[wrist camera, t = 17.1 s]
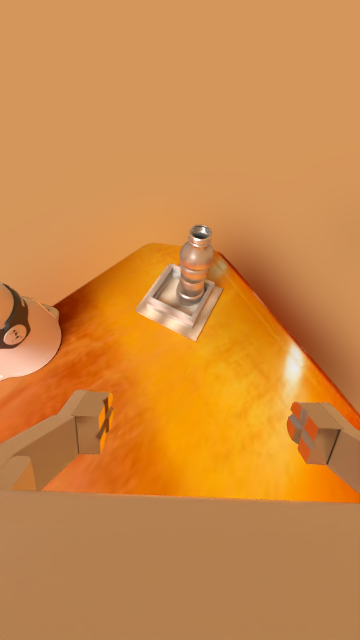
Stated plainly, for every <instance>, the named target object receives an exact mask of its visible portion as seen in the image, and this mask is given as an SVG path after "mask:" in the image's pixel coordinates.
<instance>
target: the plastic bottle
mask: <svg viewBox="0 0 360 640" xmlns="http://www.w3.org/2000/svg"><path fill="white" fill-rule="evenodd" d="M211 235H212V231H211V229H210V228H209V227H207V226H205V225H195V226H193V227H192V228H191V229H190V234H189V237H188V241H187V242H186V243H185V244H184V245H183V247H182V249H181V251H180V268H181V271H180V280H179V283H178V285H177V289H176V297H177V300H178V301H179V302H180V303H181V304H182V305H185V306H194V305H196V304H198V303H199V302H200V301H201V299H202V298H203V295H204V283H205V278H206V276H207V273H208V271H209V269H210V267H211V265H212V263H213V260H214V250H213V248H212V246H211V244H210V242H211Z"/></svg>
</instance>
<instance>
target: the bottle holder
mask: <svg viewBox="0 0 360 640" xmlns="http://www.w3.org/2000/svg"><path fill="white" fill-rule="evenodd" d="M180 271H181V268H180V267H179V266H176V265H174V264H172V263H171V264H170V265H167V266H166V268H165V269H164V271H163V272H162V273H161V275H160V276H159V277H158V279H157V280H156V282H155V283H154V284H153V286H152V287H151V288H150V290H149V291H148V293H147V294H146V295H145V297H144V298H143V299H142V301H141V302H140V304H139V305H138V306H137V308H136V309H135V311H136V312H137V313H139V314H141V315H143V316H145V317H147V318H149V319H151V320H153V321H155V322H157V323H159V324H161V325H163V326H165V327H167V328H169V329H171V330H173V331H175V332H177V333H179V334H181V335H183V336H185V337H187V338H189V339H191V340H193V341H195V342H196V340H197V338H198V336H199V334H200V332H201V330H202V328H203V327H204V325H205V323H206V321H207V319H208V317H209V315H210V313H211V311H212V309H213V307H214V306H215V304H216V302H217V300H218V298H219V296H220V294H221V292H222V290H223V289H222V288H220V287H217V286H215V282H212V281H210V280H208V279H206V278H205V283H204V295H203V298H202V299H201V301H200V302H199V303H198V304H196V305H194V306H185V305H182V304H181V303H180V302H179V301H178V300H177V297H176V289H177V285H178V283H179V280H180Z"/></svg>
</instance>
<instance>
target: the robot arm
mask: <svg viewBox="0 0 360 640" xmlns="http://www.w3.org/2000/svg"><path fill="white" fill-rule="evenodd" d="M58 320H59V311H58V310H57V309H56V308H54V307H51V306H47V305H44V304H40V303H39V302H38V301H37V300H35V299H34V298H31V299H30V298H28V297H24V296H20V295H19V294H18V293H17V292H16V291H15V290H14V289H12V288H10V287H9V286H7V285H5V284H3V283H1V282H0V381H1V380H4V379H6V378H8V377H16V376H23V375H27V374H30V373H33V372H35V371H37V370H39V369H40V368H42V367H43V366H45V365H46V364H47V363H48V362H49V361H50V360H51V359H52V358H53V357H54V355H55V354H56V352H57V350H58V348H59V346H60V343H61V330H60V327H59V323H58ZM112 401H113V393H112V392H108V391H95V390H79V389H78V390H76V391H75V392H74V393H73V394H72V396H71V397H70V398H69V400H68V401H67V402H66V404H65V405H64V406H63V408H62V409H61V411H60V412H59V413H58V415H53V416H51V417H49V418H47V419H45V420H43V421H42V422H40V423H38V424H36V425H34V426H32V427H31V428H29V429H27V430H25V431H23V432H21V433H20V434H18V435H16V436H14V437H12V438H10V439H9V440H7V441H5V442H3V443H1V444H0V640H360V503H338V502H313V501H288V500H263V499H237V498H211V497H185V496H159V495H134V494H108V493H82V492H56V491H40V490H41V489H43V488H44V487H45V486H46V485H47V484H48V483H49V482H50V481H51V480H52V479H53V478H55V477H56V476H57V475H58V474H59V473H60V472H61V471H62V470H63V469H64V468H65V467H66V466H68V465H69V464H70V463H71V462H72V461H73V460H74V459H75V458H76V457H77V456H78V454H101V452H102V449H103V446H104V444H105V441H106V434H107V433H108V432H109V431H110V428H111V425H112V420H113V408H112V406H111V403H112ZM291 411H292V413H293V414H292V415H291V416H289V417H288V421H287V429H288V433H289V435H290V437H291V439H292V440H293V441H294V442H295V443H297V444H298V451H299V452H300V454H301V455H302V457H303V459H304V460H305V462H306V464H318V465H328V466H327V467H329V468H330V469H331V470H332V471H333V472H334V473H336V474H337V475H338V476H339V477H340V478H341V479H343V480H344V481H345V482H346V483H347V484H348V485H349V486H351V487H352V488H353V489H354V490H355V491H356V492H358V493H359V494H360V430H356V429H355V428H354V427H353V426H352V425H351V424H350V423H349V422H348V421H347V420H346V419H345V418H344V417H343V416H342V415H341V414H340V413H339V412H338V411H337V410H336V409H335V408H334V407H333V406H332V405H331V404H329V403H307V402H294V403H293V404H292V406H291Z"/></svg>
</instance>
